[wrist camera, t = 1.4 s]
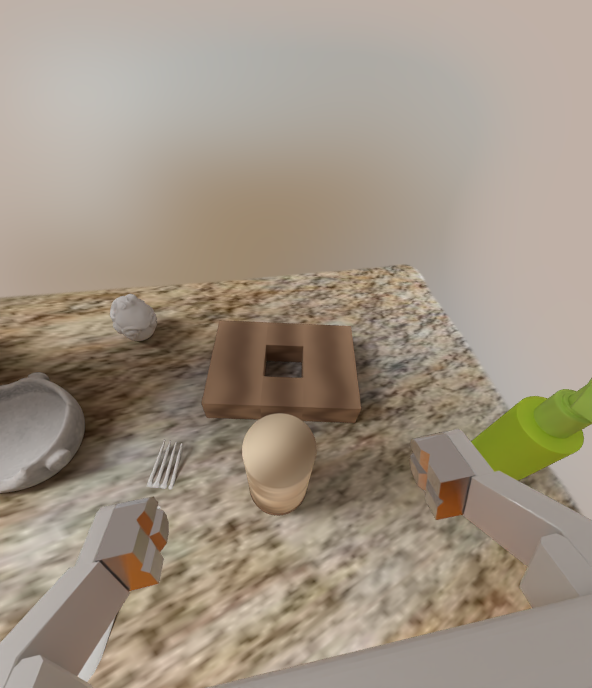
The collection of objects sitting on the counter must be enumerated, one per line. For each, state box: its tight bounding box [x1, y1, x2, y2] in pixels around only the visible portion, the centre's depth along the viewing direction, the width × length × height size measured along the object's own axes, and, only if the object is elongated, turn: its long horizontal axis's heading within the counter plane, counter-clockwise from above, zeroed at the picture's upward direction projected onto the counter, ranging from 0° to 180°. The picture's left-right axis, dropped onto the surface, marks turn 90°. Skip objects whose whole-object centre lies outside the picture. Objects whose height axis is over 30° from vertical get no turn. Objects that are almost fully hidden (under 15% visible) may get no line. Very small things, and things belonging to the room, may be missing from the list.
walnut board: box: [201, 320, 361, 423], centre depth 46 cm, size 20×14×4 cm
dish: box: [0, 372, 85, 493], centre depth 38 cm, size 14×14×5 cm
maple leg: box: [242, 413, 317, 515], centre depth 32 cm, size 6×6×14 cm
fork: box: [78, 439, 183, 682], centre depth 33 cm, size 3×24×2 cm, turn 171°
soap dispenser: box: [471, 378, 592, 481], centre depth 33 cm, size 6×7×20 cm
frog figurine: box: [110, 294, 157, 341], centre depth 49 cm, size 6×7×7 cm
